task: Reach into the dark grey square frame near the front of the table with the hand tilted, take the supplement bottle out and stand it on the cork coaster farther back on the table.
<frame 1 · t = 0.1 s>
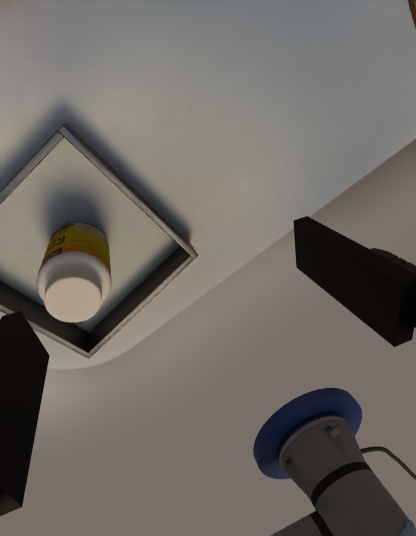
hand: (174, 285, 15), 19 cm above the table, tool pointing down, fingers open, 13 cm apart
supplement bottle: (79, 246, 32), resting in dark grey square frame
dark grey square frame: (79, 247, 32), on the table
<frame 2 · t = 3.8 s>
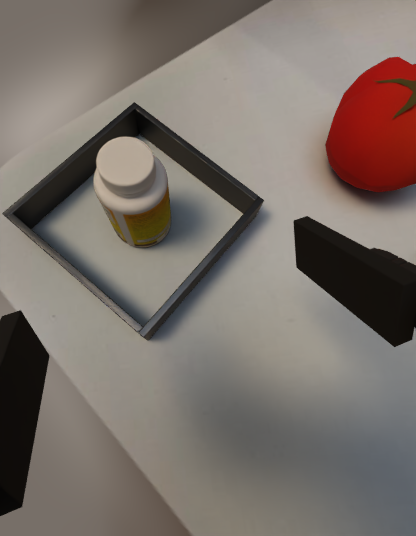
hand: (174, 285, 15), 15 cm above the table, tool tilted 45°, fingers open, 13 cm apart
tomato: (358, 165, 36), on the table
supplement bottle: (143, 223, 32), resting in dark grey square frame
dark grey square frame: (143, 223, 32), on the table
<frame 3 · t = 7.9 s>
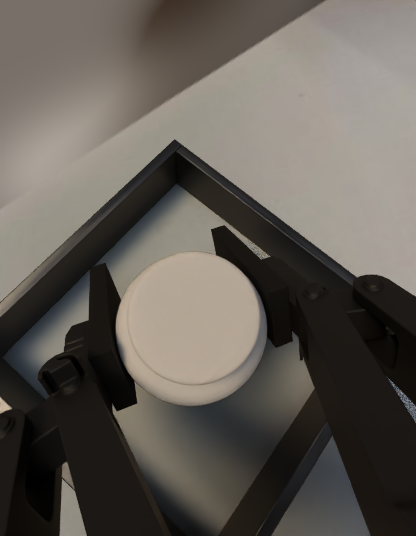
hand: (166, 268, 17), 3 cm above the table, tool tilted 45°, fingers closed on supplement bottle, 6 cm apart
supplement bottle: (189, 340, 19), resting in dark grey square frame, touching gripper
dark grey square frame: (189, 339, 19), on the table
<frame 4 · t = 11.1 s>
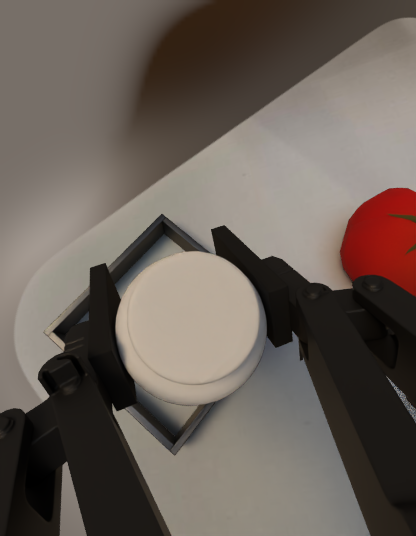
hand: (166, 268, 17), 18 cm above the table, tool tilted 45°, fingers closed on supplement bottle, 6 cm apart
tomato: (369, 261, 38), on the table
supplement bottle: (188, 339, 19), point 15 cm above the table, touching gripper
dark grey square frame: (169, 326, 34), on the table
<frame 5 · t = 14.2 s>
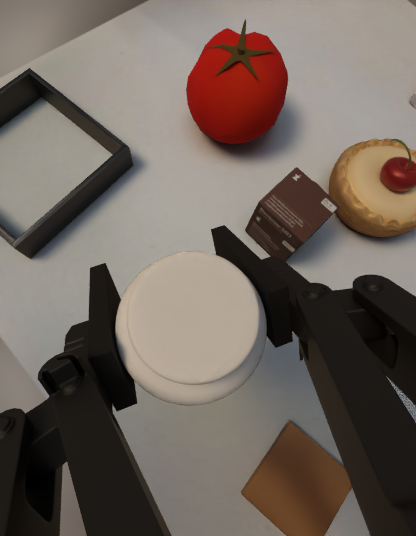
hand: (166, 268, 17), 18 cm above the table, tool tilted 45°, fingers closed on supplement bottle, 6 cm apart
tomato: (229, 126, 42), on the table
supplement bottle: (188, 339, 19), point 15 cm above the table, touching gripper
pastry: (365, 201, 41), on the table
dark grey square frame: (36, 168, 38), on the table
coaster: (298, 484, 31), on the table
box: (277, 232, 38), on the table
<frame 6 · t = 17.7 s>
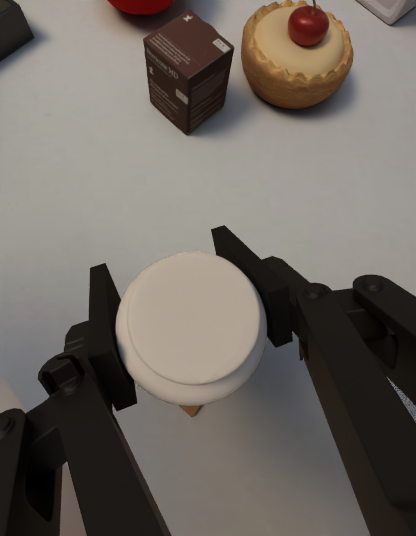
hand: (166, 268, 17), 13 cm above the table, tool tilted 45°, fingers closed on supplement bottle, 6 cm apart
tomato: (143, 5, 40), on the table
supplement bottle: (189, 339, 19), point 9 cm above the table, touching gripper
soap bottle: (375, 0, 43), on the table
pastry: (285, 80, 38), on the table
box: (187, 106, 36), on the table
when the fingers open (4 cm above the table, at t = 20.4 s): supplement bottle stays where it is, resting on coaster.
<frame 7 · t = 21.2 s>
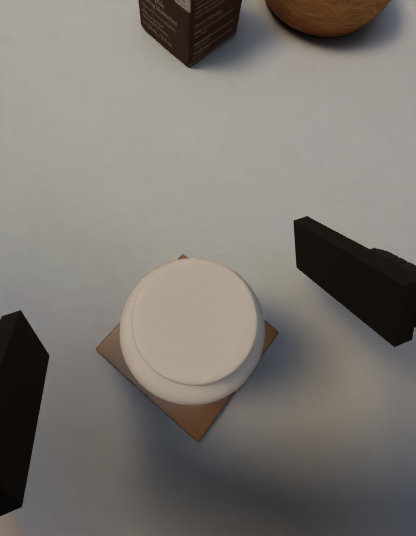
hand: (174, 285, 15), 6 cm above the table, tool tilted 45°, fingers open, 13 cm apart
supplement bottle: (189, 341, 20), resting on coaster
pastry: (314, 5, 30), on the table
coaster: (189, 341, 20), on the table
box: (189, 33, 28), on the table
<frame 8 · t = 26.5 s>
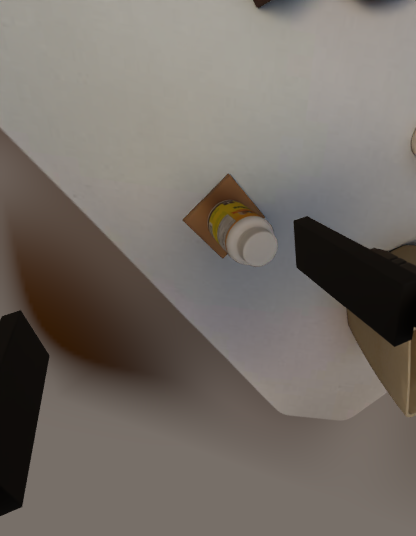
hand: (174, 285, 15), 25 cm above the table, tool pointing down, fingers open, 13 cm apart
supplement bottle: (225, 219, 41), resting on coaster
coaster: (224, 217, 42), on the table
flower pot: (373, 286, 57), on the table
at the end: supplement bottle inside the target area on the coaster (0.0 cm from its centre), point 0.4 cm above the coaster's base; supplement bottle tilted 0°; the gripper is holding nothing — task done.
